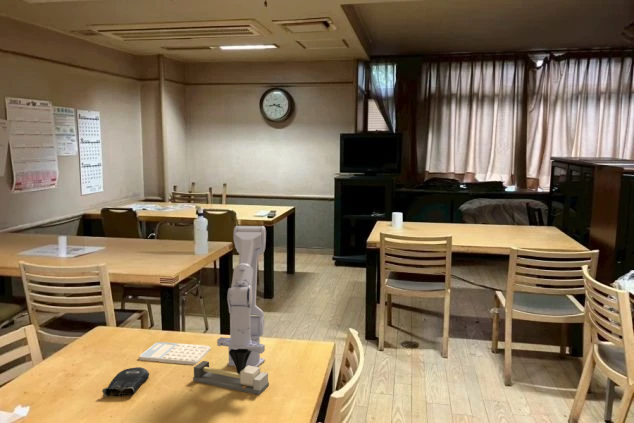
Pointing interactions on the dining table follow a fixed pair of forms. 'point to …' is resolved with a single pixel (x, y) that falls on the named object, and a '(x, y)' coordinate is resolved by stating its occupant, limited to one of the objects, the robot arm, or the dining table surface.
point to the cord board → (228, 379)
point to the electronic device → (127, 381)
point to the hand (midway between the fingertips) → (241, 372)
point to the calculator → (175, 353)
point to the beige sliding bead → (249, 375)
